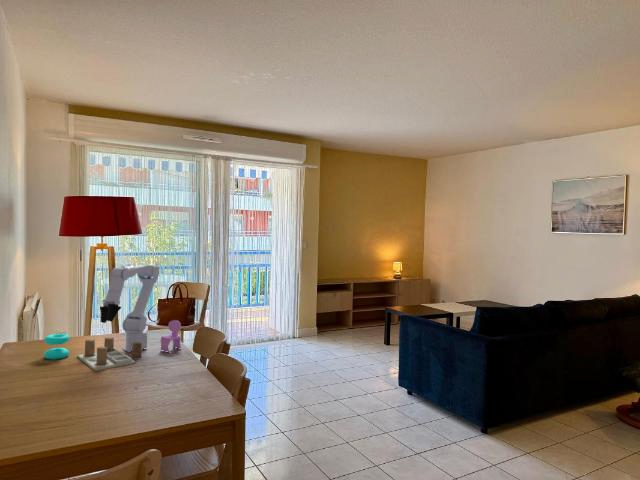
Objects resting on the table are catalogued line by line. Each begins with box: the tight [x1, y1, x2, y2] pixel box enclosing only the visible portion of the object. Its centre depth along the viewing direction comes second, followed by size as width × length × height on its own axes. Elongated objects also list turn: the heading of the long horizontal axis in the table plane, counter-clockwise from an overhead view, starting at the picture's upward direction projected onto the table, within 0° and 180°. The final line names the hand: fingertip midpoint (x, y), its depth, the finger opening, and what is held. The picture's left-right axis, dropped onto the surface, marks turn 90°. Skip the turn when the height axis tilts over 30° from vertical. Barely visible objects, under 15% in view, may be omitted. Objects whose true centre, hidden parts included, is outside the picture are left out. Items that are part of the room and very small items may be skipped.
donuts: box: [43, 333, 70, 360], centre depth 201 cm, size 10×10×10 cm
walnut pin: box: [131, 342, 143, 359], centre depth 205 cm, size 4×4×7 cm
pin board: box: [76, 336, 136, 371], centre depth 199 cm, size 17×24×8 cm
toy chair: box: [160, 319, 182, 352], centre depth 219 cm, size 8×9×15 cm
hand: (106, 321), depth 194 cm, fingers open, 7 cm apart
